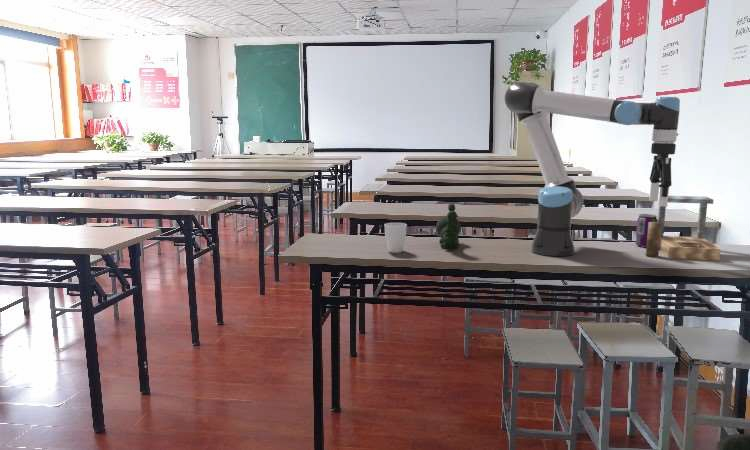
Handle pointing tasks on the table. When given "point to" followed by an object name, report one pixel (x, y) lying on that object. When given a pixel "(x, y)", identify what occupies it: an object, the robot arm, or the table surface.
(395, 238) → the cup
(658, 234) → the peg
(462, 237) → the table surface
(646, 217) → the beverage can
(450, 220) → the toy figurine
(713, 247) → the socket station
